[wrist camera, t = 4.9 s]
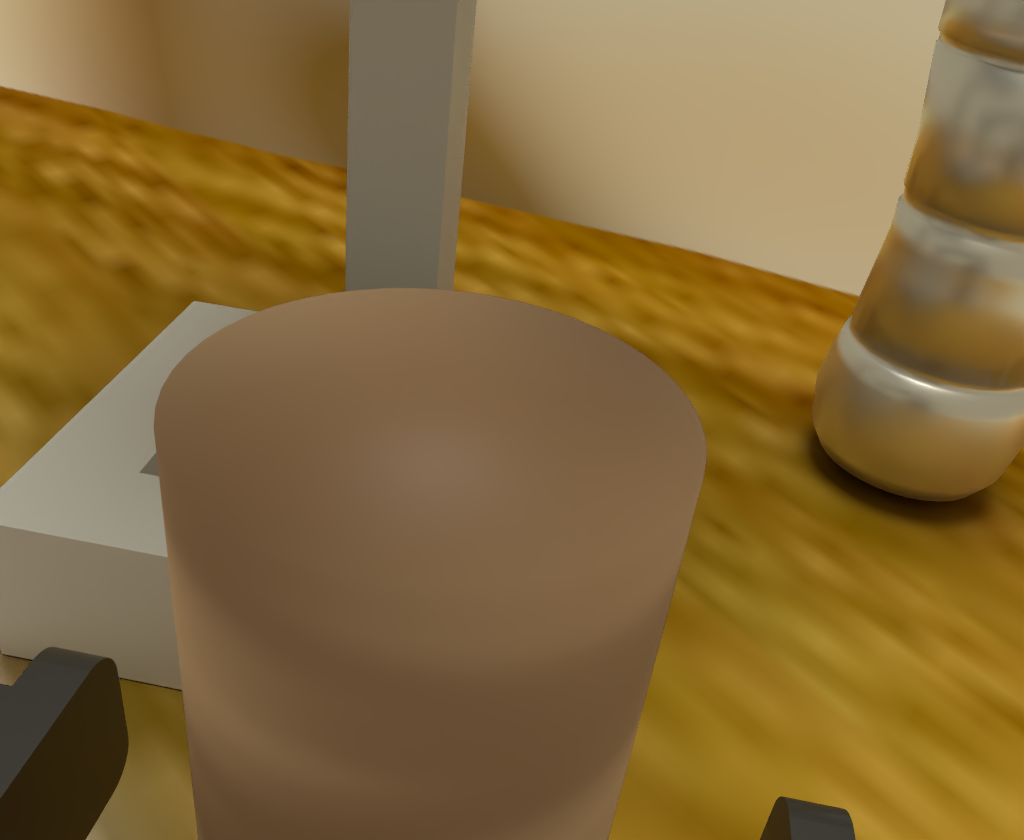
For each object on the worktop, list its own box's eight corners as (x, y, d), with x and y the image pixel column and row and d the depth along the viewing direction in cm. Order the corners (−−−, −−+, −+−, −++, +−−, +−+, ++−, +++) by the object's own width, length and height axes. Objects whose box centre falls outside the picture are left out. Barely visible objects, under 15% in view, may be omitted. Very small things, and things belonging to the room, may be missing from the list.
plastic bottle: (833, 396, 37) (1044, -226, 26) (1015, 470, 34) (1338, -200, 23) (766, 466, 32) (986, -253, 22) (969, 558, 29) (1345, -227, 19)
